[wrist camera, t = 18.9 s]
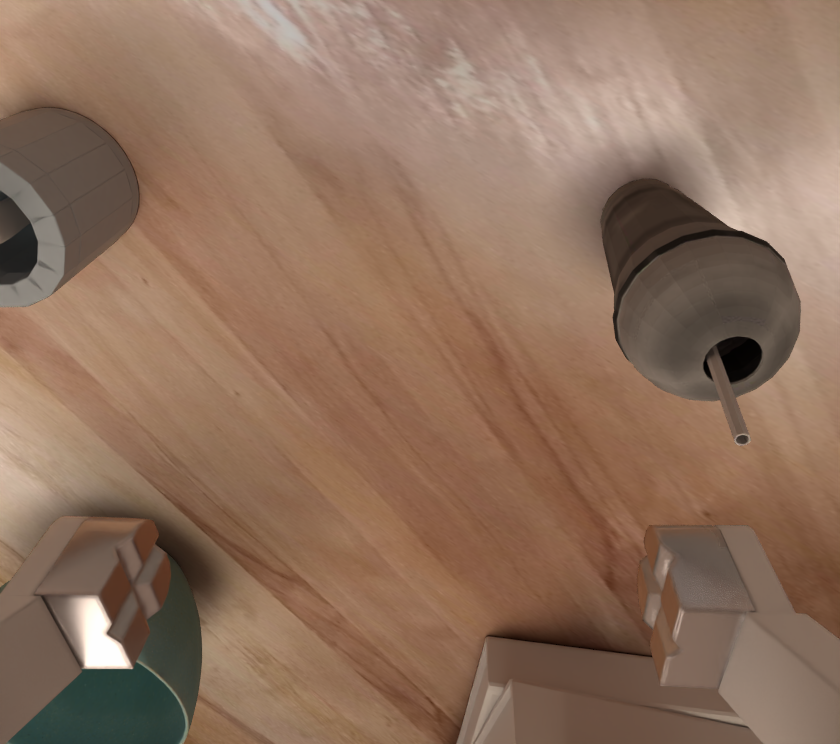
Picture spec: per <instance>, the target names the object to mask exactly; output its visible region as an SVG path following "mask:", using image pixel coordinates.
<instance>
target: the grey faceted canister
mask: <svg viewBox="0 0 840 744" xmlns="http://www.w3.org/2000/svg"><path fill="white" fill-rule="evenodd" d="M9 197H10V198H12V199H13V200H14V202H15V203H16V204H17V205H18V207H19V208H20V209H21V210H22V212H23V213H24V214H25V215H26V217H27V218H28V219H29V220H30V222H31V223H30V224H28V225H27V226H26V227H24V228H23V229H22V230H21V231H19V232H18V233H17V234H15V235H14V236H13V237H11V238H10V239H8V240H6V241H5V242H3V243H1V244H0V307H27V306H30V305H33V304H35V303H37V302H39V301H41V300H43V299H45V298H47V297H49V296H51V295H52V294H53V293H54V292H56V291H57V290H58V289H59V288H60V287H62V286H63V285H64V284H65V283H67V282H68V281H69V280H70V279H71V278H73V277H74V276H75V275H76V274H77V273H79V272H80V271H81V270H82V269H83V268H85V267H86V266H87V265H88V264H90V263H91V262H92V261H93V260H94V259H96V258H97V257H98V256H99V255H100V254H102V253H103V252H104V251H105V250H106V249H108V248H109V247H110V246H111V245H113V244H114V243H115V242H116V241H117V240H118V239H119V237H120V236H121V235H123V234H124V233H125V232H126V231H127V230H128V229H129V227H130V226H131V224H132V223H133V221H134V219H135V216H136V214H137V210H138V205H139V191H138V184H137V179H136V176H135V173H134V170H133V168H132V166H131V164H130V162H129V160H128V158H127V156H126V155H125V153H124V151H123V150H122V149H121V147H120V146H119V145H118V144H117V142H116V141H115V140H114V139H113V138H112V137H111V136H110V135H109V134H108V133H107V132H106V131H104V130H103V129H102V128H101V127H99V126H98V125H97V124H95V123H94V122H92V121H91V120H89V119H87V118H85V117H83V116H81V115H79V114H76V113H74V112H71V111H68V110H64V109H58V108H37V109H33V110H30V111H27V112H20V113H17V114H15V115H12V116H9V117H6V118H4V119H1V120H0V201H2V200H4V199H7V198H9Z"/></svg>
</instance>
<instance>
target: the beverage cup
mask: <svg viewBox="0 0 840 744" xmlns="http://www.w3.org/2000/svg"><path fill="white" fill-rule="evenodd" d="M601 229H602V239H603V245H604V250H605V254H606V259H607V263H608V268H609V272H610V277H611V281H612V286H613V290H614V313H613V323H614V331H615V339H616V341H617V343H618V345H619V346H620V348H621V350H622V352H623V354H624V355H625V357H626V359H627V360H629V361H630V362H631V363H632V364H633V365H634V367H635V368H636V369H637V370H638V371H639V372H640V373H641V374H642V375H643V376H644V377H645V378H647V379H648V380H649V381H650V382H652V383H653V384H654V385H655V386H657V387H658V388H660V389H661V390H663V391H666V392H668V393H671V394H674V395H677V396H679V397H682V398H685V399H689V400H700V401H717V400H720V401H721V404H722V407H723V410H724V412H725V415H726V418H727V421H728V424H729V427H730V430H731V433H732V436H733V438H734V441H735V444H737V445H740V446H743V445H747V444H748V443H749V442H750V441H751V438H750V435H749V432H748V430H747V427H746V424H745V422H744V419H743V416H742V414H741V411H740V408H739V406H738V403H737V400H736V398H735V397H738V396H741V395H743V394H745V393H748V392H750V391H753V390H755V389H757V388H758V387H759V386H761V385H762V384H764V383H765V382H766V381H768V380H769V379H771V378H772V377H773V376H774V375H775V374H776V373H777V372H778V370H779V369H780V368H781V367H782V366H783V364H784V363H785V362H786V361H787V360H788V358H789V357H790V354H791V352H792V350H793V347H794V345H795V343H796V340H797V338H798V335H799V332H800V313H801V306H800V299H799V296H798V293H797V291H796V288H795V286H794V283H793V280H792V278H791V275H790V273H789V270H788V268H787V265H786V263H785V260H784V258H783V257H782V256H781V255H780V254H779V253H778V252H777V251H776V250H775V249H774V248H773V247H772V246H771V245H770V244H769V243H768V242H766V241H764V240H762V239H759V238H757V237H755V236H752V235H750V234H747V233H745V232H743V231H738V230H735V229H733V228H730V227H729V226H727V225H726V224H725V223H723V222H722V221H720V220H719V219H718V218H716V217H715V216H713V215H712V214H711V213H709V212H708V211H707V210H705V209H704V208H702V207H701V206H700V205H698V204H697V203H696V202H694V201H693V200H691V199H690V198H689V197H687V196H686V195H684V194H683V193H682V192H680V191H679V190H677V189H675V188H672V187H670V186H669V185H668V184H666V183H664V182H661V181H659V180H656V179H640V180H636V181H632V182H630V183H628V184H626V185H624V186H622V187H621V188H619V189H618V190H617V191H616V192H615V193H614V194H613V195H612V196H611V197H610V198H609V199H608V201H607V203H606V205H605V207H604V208H603V212H602V216H601Z"/></svg>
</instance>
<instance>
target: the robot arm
mask: <svg viewBox="0 0 840 744" xmlns="http://www.w3.org/2000/svg"><path fill="white" fill-rule="evenodd" d="M158 536H159V532H158V530H157V528H156V525H155V523H154V521H153V520H149V519H140V518H115V517H77V516H62V517H60V518H59V519H57V520H55V521H54V522H53V523H52V524H51V525H50V527H49V528H48V529H47V531H46V532H45V534H44V535H43V536H42V538H41V539H40V540H39V542H38V543H37V544H36V546H35V547H34V549H33V550H32V551H31V553H30V554H29V555H28V557H27V558H26V559H25V561H24V562H23V564H22V565H21V566H20V568H19V569H18V570H17V572H16V573H15V574H14V576H13V577H12V578H11V580H10V581H9V583H8V584H7V585H6V587H5V588H4V589H3V591H2V592H1V593H0V744H6V743H7V742H8V741H9V740H10V739H11V738H12V737H13V736H14V735H15V734H16V733H17V732H18V731H19V730H21V729H22V728H23V727H24V726H25V725H26V724H27V723H28V722H29V721H30V720H31V719H32V718H33V717H34V716H36V715H37V714H38V713H39V712H40V711H41V710H42V709H43V708H44V707H45V706H46V705H47V704H48V703H49V702H50V701H52V700H53V699H54V698H55V697H56V696H57V695H58V694H59V693H60V692H61V691H62V690H63V689H64V688H65V687H67V686H68V685H69V684H70V683H71V682H72V681H73V680H74V679H75V678H76V677H77V676H78V675H79V674H80V673H81V672H82V669H133V668H134V666H135V663H136V661H137V659H138V657H139V655H140V653H141V651H142V649H143V647H144V644H145V642H146V640H147V638H148V636H149V634H150V630H149V626H148V623H147V620H148V619H149V618H150V617H151V616H153V615H154V614H155V613H156V612H158V611H159V610H160V609H161V608H162V606H163V603H164V601H165V599H166V597H167V594H168V590H169V585H170V579H171V570H170V562H169V559H168V556H167V553H166V552H165V551H163V550H162V549H161V548H159V547H158V546H157V545H156V544H155V542H156V540H157V538H158ZM644 546H645V549H646V552H647V556H645V557H644V558H643V559H642V560H640V561H639V567H638V573H637V594H638V601H639V607H640V611H641V615H642V619H643V621H644V622H645V623H646V624H647V625H648V626H649V627H650V628H651V629H652V630H653V633H652V637H651V642H650V650H651V653H652V657H653V661H654V664H655V668H656V672H657V675H658V679H659V683H660V686H674V687H691V688H708V689H719V690H718V693H719V694H720V695H721V696H722V697H723V698H724V700H725V701H726V702H727V703H728V704H729V705H730V706H731V708H732V709H733V710H734V711H735V712H736V713H737V714H738V716H739V717H740V718H741V719H742V720H743V721H744V722H745V724H746V725H747V726H748V727H749V728H750V729H751V730H752V731H753V733H754V734H755V735H756V736H757V737H758V738H759V739H760V741H761V742H762V743H763V744H840V639H839V638H837V637H836V636H835V635H833V634H832V633H831V632H829V631H828V630H827V629H825V628H824V627H823V626H822V625H820V624H819V623H818V622H816V621H815V620H814V619H812V618H811V617H810V616H809V615H807V614H800V613H795V611H794V609H793V607H792V605H791V603H790V601H789V599H788V597H787V595H786V593H785V591H784V589H783V587H782V585H781V583H780V581H779V579H778V577H777V575H776V573H775V571H774V569H773V567H772V565H771V563H770V561H769V559H768V557H767V555H766V553H765V551H764V549H763V547H762V545H761V543H760V541H759V540H758V538H757V536H756V534H755V532H754V530H753V529H752V528H750V527H749V526H748V525H715V526H712V525H649V526H648V528H647V530H646V533H645V537H644Z"/></svg>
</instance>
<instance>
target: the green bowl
mask: <svg viewBox="0 0 840 744" xmlns="http://www.w3.org/2000/svg"><path fill="white" fill-rule="evenodd" d="M167 556H168V559H169V562H170V570H171V579H170V585H169V590H168V594H167V597H166V599H165V601H164V603H163V606H162V608H161V609H160V610H159V611H158V612H156V613H155V614H154V615H153V616H151V617H150V618H149V619H148V620H147V623H148V626H149V630H150V634H149V636H148V638H147V640H146V642H145V644H144V647H143V649H142V651H141V653H140V655H139V657H138V659H137V661H136V663H135V666H134V668H133V669H82V672H81V673H80V674H79V675H78V676H77V677H76V678H75V679H74V680H73V681H72V682H71V683H70V684H69V685H68V686H67V687H65V688H64V689H63V690H62V691H61V692H60V693H59V694H58V695H57V696H56V697H55V698H54V699H53V700H52V701H50V702H49V703H48V704H47V705H46V706H45V707H44V708H43V709H42V710H41V711H40V712H39V713H38V714H37V715H36V716H34V717H33V718H32V719H31V720H30V721H29V722H28V723H27V724H26V725H25V726H24V727H23V728H22V729H21V730H19V731H18V732H17V733H16V734H15V735H14V736H13V737H12V738H11V739H10V740H9V741H8V742H7V743H6V744H183V743H184V741H185V739H186V737H187V734H188V731H189V729H190V725H191V722H192V718H193V715H194V710H195V706H196V701H197V696H198V690H199V684H200V676H201V665H202V638H201V627H200V620H199V615H198V610H197V606H196V603H195V600H194V597H193V594H192V591H191V589H190V586H189V584H188V582H187V580H186V577H185V575H184V573H183V571H182V570H181V568H180V567H179V565H178V564H177V563H176V561H175V560H174V559H173V558H172V557H171V556H169V555H168V554H167ZM8 583H9V581H8V582H7V583H6V584H4V585H3V586H2V587H0V593H1V592H2V591H3V589H4V588H5V587H6V585H7V584H8Z"/></svg>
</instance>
